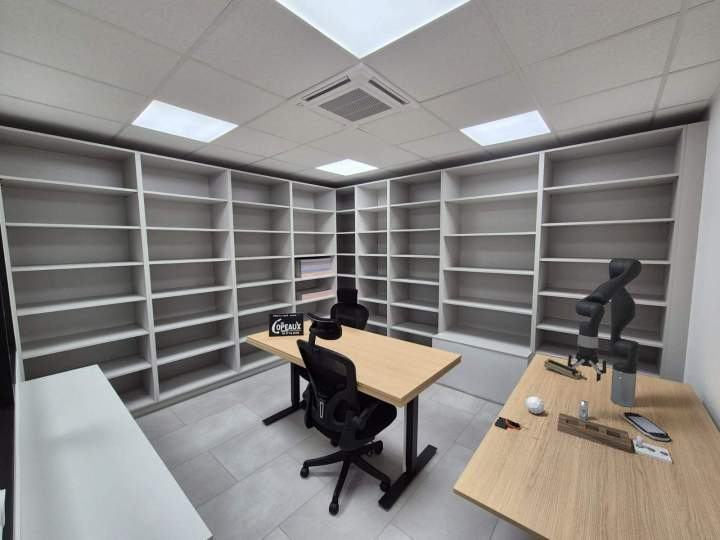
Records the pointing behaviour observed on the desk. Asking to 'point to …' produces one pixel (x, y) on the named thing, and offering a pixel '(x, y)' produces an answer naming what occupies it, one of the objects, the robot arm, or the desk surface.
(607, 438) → the pin board
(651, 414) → the desk surface
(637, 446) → the white plate with peg
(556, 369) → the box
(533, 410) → the geometric ball
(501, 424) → the multimeter
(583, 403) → the steel pin
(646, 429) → the gaming console
